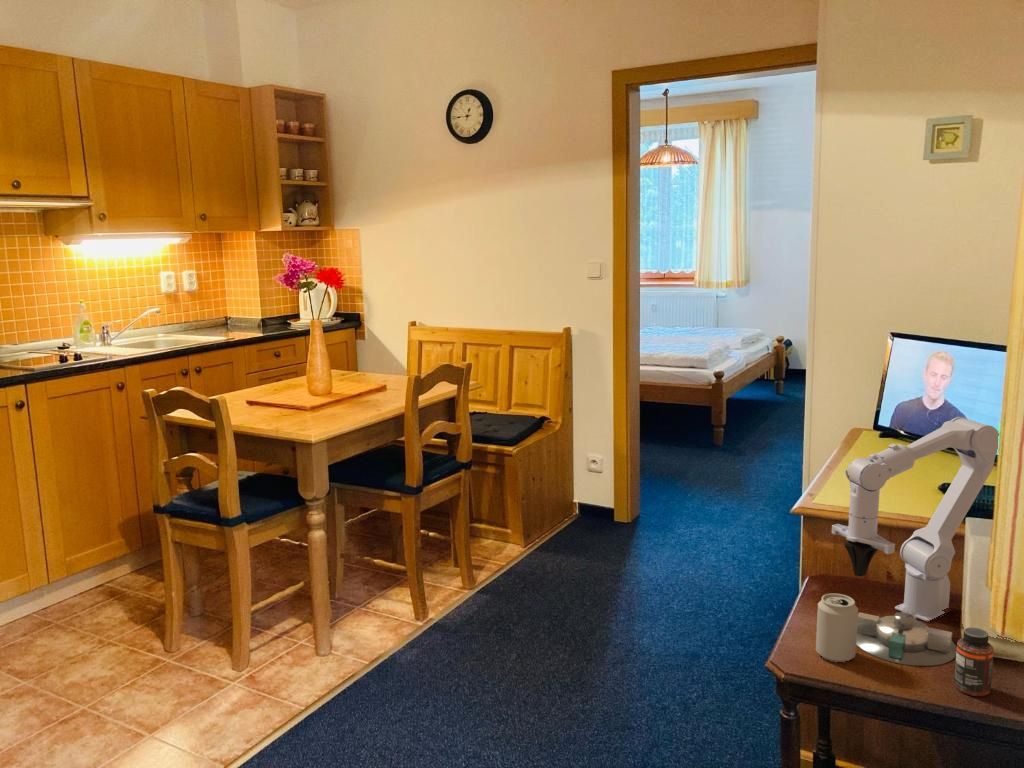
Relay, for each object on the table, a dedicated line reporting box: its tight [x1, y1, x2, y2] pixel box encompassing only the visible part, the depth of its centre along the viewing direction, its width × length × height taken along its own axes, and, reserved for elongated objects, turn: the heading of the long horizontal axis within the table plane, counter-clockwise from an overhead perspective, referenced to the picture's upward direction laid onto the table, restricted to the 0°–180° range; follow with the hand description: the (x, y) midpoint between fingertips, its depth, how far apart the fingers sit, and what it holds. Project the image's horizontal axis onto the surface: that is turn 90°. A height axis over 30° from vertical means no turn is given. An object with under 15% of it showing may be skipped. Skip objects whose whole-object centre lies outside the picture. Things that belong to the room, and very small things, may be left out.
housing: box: [856, 611, 957, 667], centre depth 174 cm, size 20×20×6 cm
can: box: [815, 593, 859, 663], centre depth 168 cm, size 8×8×12 cm
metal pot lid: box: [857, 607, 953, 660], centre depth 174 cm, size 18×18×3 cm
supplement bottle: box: [954, 626, 995, 697], centre depth 155 cm, size 6×6×11 cm
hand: (860, 574), depth 183 cm, fingers closed
